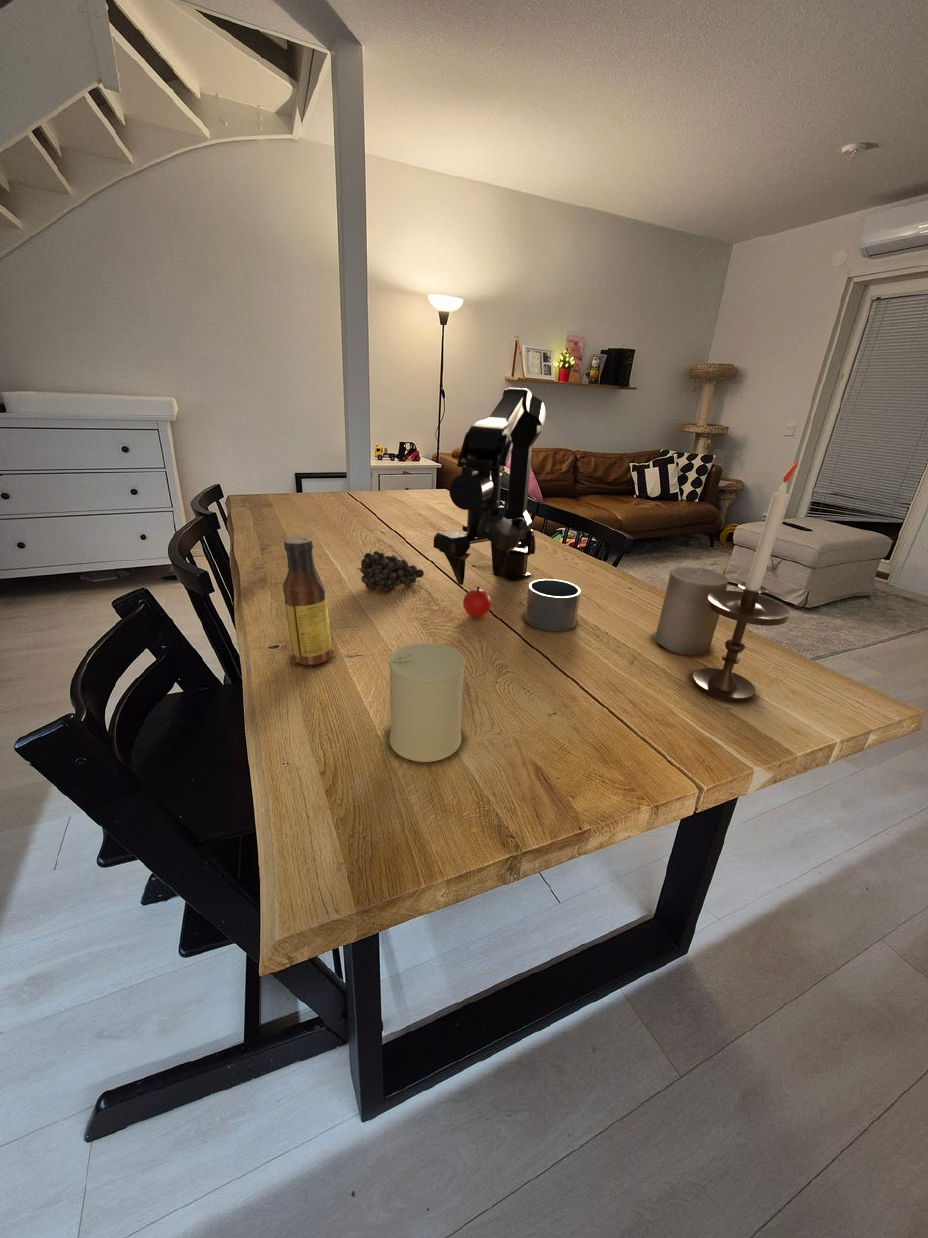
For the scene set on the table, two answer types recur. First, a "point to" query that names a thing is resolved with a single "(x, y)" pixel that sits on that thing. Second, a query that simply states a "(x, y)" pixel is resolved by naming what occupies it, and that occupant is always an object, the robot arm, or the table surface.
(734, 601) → the candlestick
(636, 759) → the table surface
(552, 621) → the cup
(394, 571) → the fruit
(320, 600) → the sauce bottle
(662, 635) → the pillar candle
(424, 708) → the can
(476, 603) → the apple
